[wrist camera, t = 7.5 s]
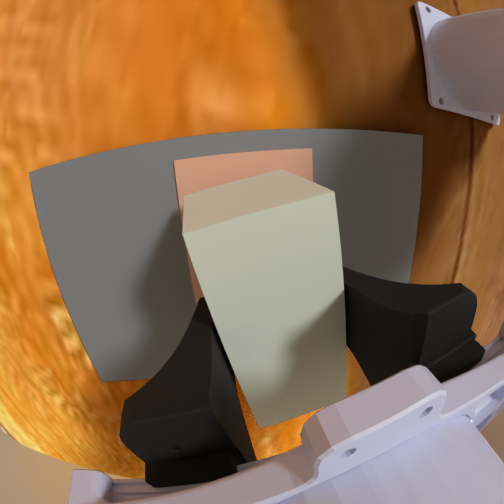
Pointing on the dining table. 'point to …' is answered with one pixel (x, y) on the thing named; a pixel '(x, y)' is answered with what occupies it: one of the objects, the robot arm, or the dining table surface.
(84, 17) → the dining table surface
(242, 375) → the block
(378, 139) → the mat
